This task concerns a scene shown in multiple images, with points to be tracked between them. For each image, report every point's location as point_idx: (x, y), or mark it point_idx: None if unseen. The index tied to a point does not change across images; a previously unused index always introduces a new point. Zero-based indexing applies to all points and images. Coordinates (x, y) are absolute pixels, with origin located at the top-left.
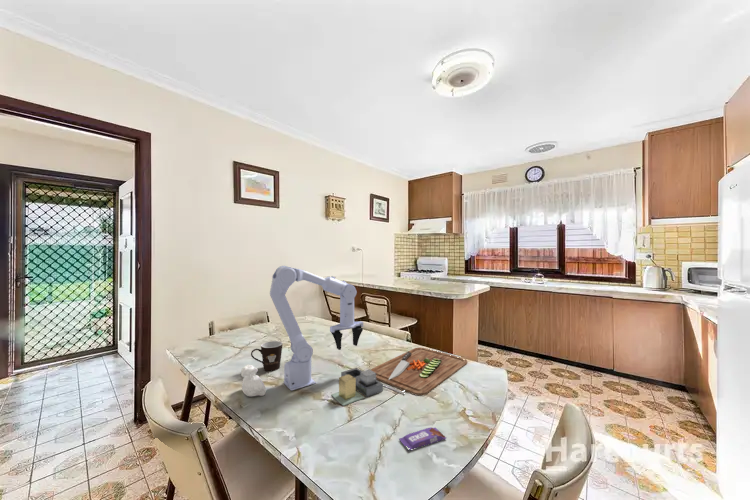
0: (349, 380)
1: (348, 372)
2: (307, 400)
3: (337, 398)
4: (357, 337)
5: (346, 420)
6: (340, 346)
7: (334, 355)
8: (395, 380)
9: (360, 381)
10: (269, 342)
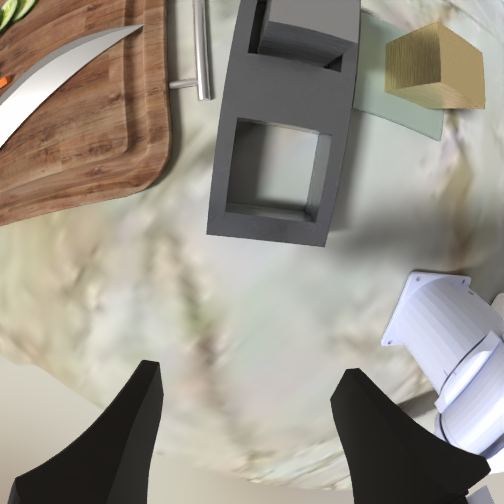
0: (466, 41)
1: (289, 218)
2: (483, 187)
3: None
4: (122, 435)
5: (460, 15)
6: (370, 388)
7: (177, 416)
8: (125, 6)
9: (333, 59)
10: None
